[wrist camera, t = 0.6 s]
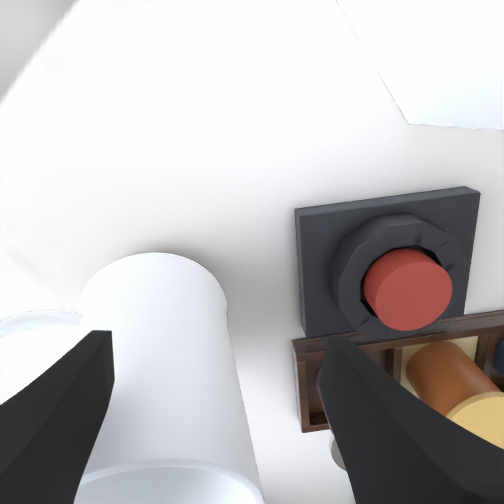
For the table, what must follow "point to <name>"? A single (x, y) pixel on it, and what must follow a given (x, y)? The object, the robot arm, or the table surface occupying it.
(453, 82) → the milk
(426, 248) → the button block
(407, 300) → the button
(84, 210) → the table surface
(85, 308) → the mug
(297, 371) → the pod stand
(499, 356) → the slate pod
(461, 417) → the coffee pod
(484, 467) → the robot arm
